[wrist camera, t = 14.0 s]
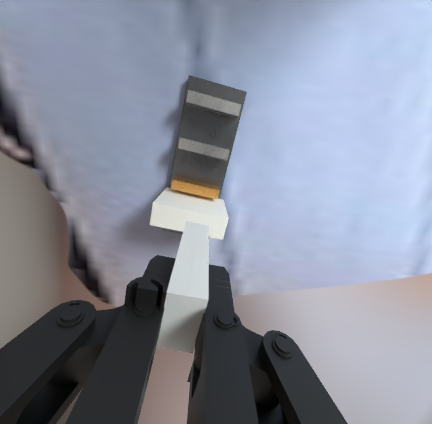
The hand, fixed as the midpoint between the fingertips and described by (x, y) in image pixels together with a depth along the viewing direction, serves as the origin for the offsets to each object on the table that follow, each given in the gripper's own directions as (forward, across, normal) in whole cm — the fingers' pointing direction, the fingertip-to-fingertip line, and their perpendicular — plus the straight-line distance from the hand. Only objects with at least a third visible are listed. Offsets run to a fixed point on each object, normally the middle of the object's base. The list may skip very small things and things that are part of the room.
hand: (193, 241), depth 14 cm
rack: (+17, -1, +3) cm, 17 cm away
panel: (+16, -1, -2) cm, 16 cm away
